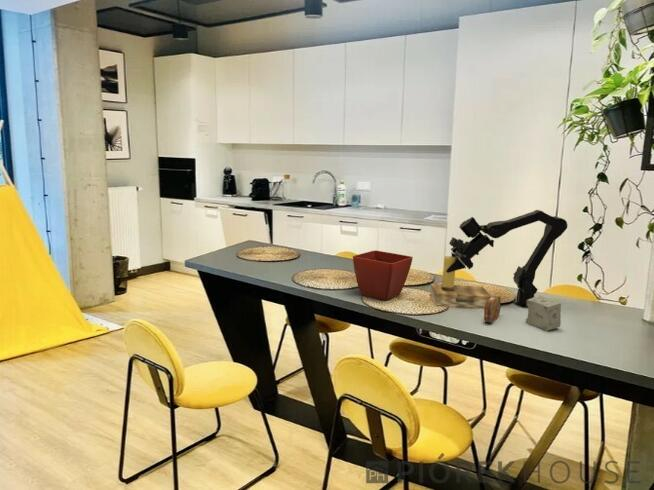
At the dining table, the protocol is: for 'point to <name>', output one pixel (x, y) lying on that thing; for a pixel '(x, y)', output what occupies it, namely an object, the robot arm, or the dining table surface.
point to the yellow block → (448, 277)
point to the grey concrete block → (543, 313)
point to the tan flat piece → (459, 296)
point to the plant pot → (381, 273)
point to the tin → (492, 309)
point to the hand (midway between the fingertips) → (445, 270)
